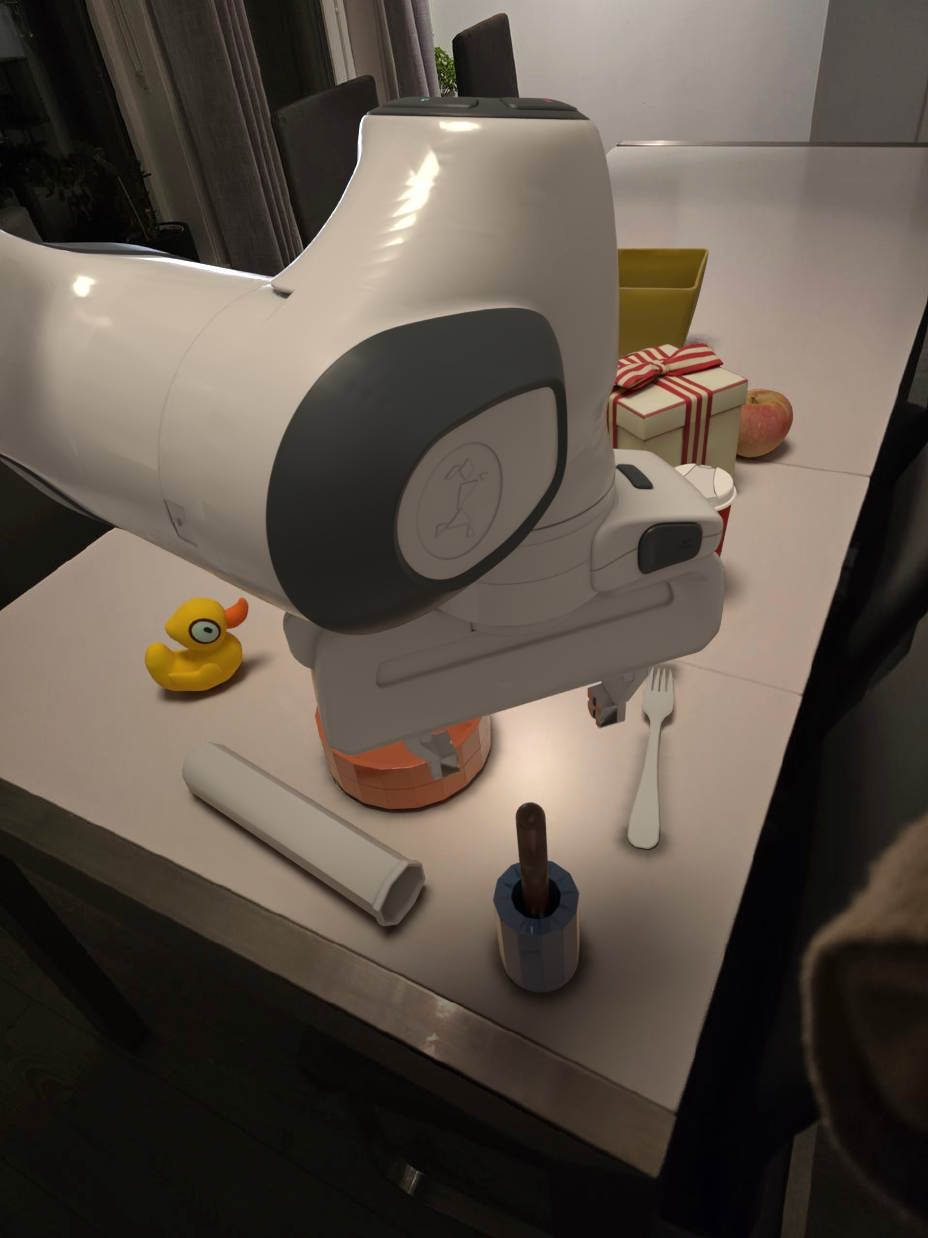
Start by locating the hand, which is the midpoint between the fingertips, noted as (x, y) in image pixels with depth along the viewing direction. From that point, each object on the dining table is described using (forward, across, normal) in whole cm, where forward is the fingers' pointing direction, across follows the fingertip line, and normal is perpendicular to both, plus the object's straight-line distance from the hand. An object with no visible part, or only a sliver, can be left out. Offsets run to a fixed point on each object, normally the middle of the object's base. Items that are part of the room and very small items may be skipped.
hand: (525, 742), depth 44 cm
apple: (+24, +53, +56) cm, 81 cm away
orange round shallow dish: (+24, -4, +23) cm, 33 cm away
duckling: (+24, -22, +40) cm, 51 cm away
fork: (+24, +16, +14) cm, 32 cm away
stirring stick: (+23, 0, 0) cm, 23 cm away
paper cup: (+24, +30, +33) cm, 50 cm away
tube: (+24, -16, +17) cm, 33 cm away
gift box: (+24, +36, +55) cm, 70 cm away
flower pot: (+24, +50, +86) cm, 103 cm away
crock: (+24, 0, 0) cm, 24 cm away
